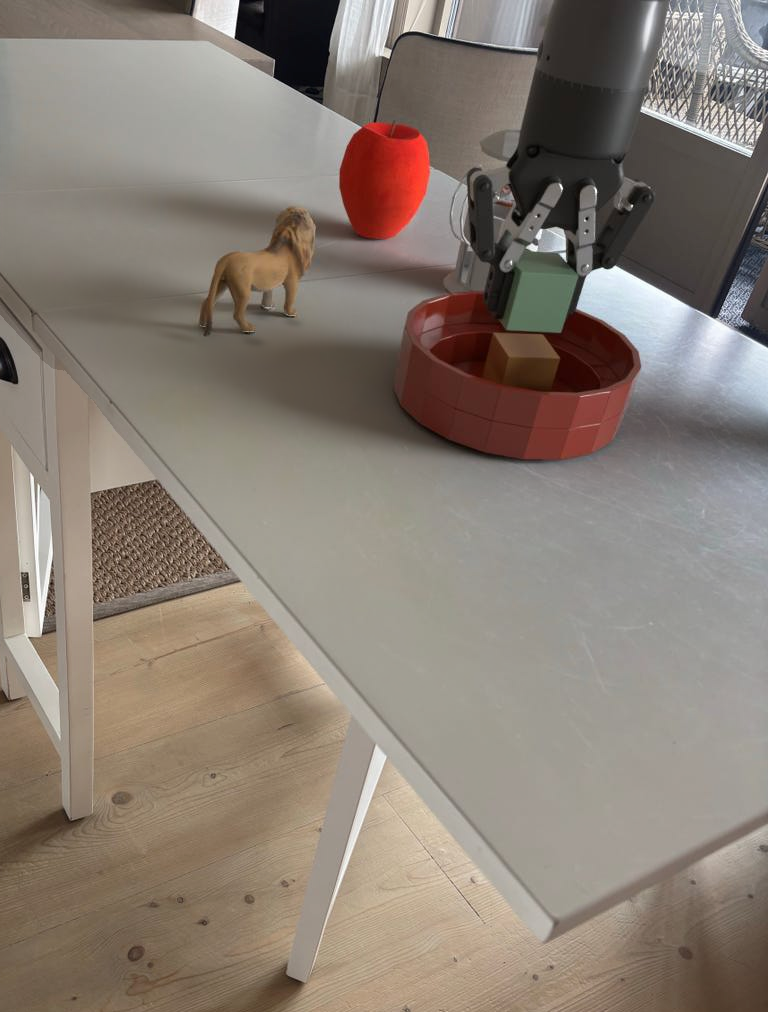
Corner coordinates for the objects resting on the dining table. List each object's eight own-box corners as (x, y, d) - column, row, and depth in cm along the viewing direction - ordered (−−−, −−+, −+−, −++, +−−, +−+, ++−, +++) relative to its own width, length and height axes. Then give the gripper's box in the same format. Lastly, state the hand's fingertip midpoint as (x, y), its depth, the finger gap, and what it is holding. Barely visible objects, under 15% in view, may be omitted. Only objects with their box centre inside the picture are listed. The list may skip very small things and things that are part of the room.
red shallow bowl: (572, 357, 92) (591, 295, 88) (652, 467, 78) (679, 399, 74) (374, 350, 89) (385, 286, 85) (421, 463, 75) (436, 392, 71)
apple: (364, 257, 106) (382, 136, 98) (314, 226, 112) (327, 109, 104) (434, 247, 111) (457, 130, 103) (383, 217, 117) (400, 104, 109)
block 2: (529, 382, 86) (542, 334, 83) (545, 407, 83) (560, 358, 80) (480, 381, 85) (492, 332, 82) (495, 406, 82) (508, 356, 79)
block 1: (542, 309, 78) (558, 252, 75) (561, 333, 75) (579, 275, 72) (489, 306, 77) (503, 249, 74) (505, 330, 74) (521, 272, 71)
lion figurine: (277, 289, 97) (285, 195, 91) (321, 306, 95) (332, 211, 89) (182, 333, 88) (185, 231, 82) (229, 352, 86) (235, 249, 80)
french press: (554, 300, 102) (632, 23, 85) (468, 315, 97) (533, 24, 80) (494, 265, 108) (556, 0, 91) (410, 278, 103) (460, 0, 86)
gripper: (507, 74, 61) (450, 334, 72) (716, 92, 63) (629, 341, 74) (475, 47, 66) (426, 293, 78) (669, 65, 69) (594, 301, 80)
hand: (526, 315), depth 76 cm, fingers closed on block 1, 4 cm apart
